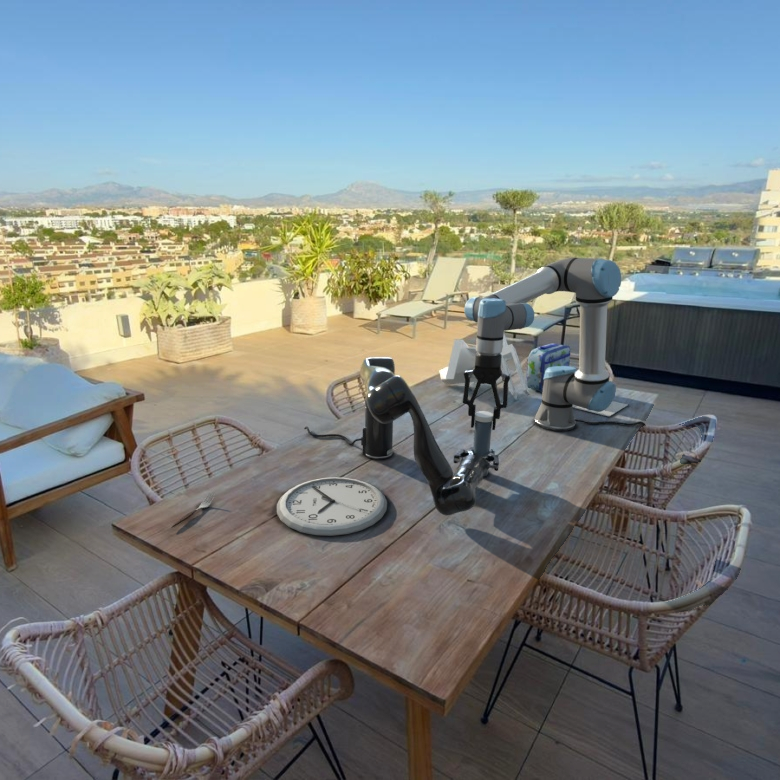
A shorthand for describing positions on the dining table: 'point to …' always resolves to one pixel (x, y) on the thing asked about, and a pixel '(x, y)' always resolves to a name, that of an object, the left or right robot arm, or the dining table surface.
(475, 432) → the jar
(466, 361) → the white plastic object
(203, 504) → the fork
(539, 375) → the lunch box
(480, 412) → the lid
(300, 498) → the wall clock
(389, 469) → the dining table surface
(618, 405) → the invitation card
